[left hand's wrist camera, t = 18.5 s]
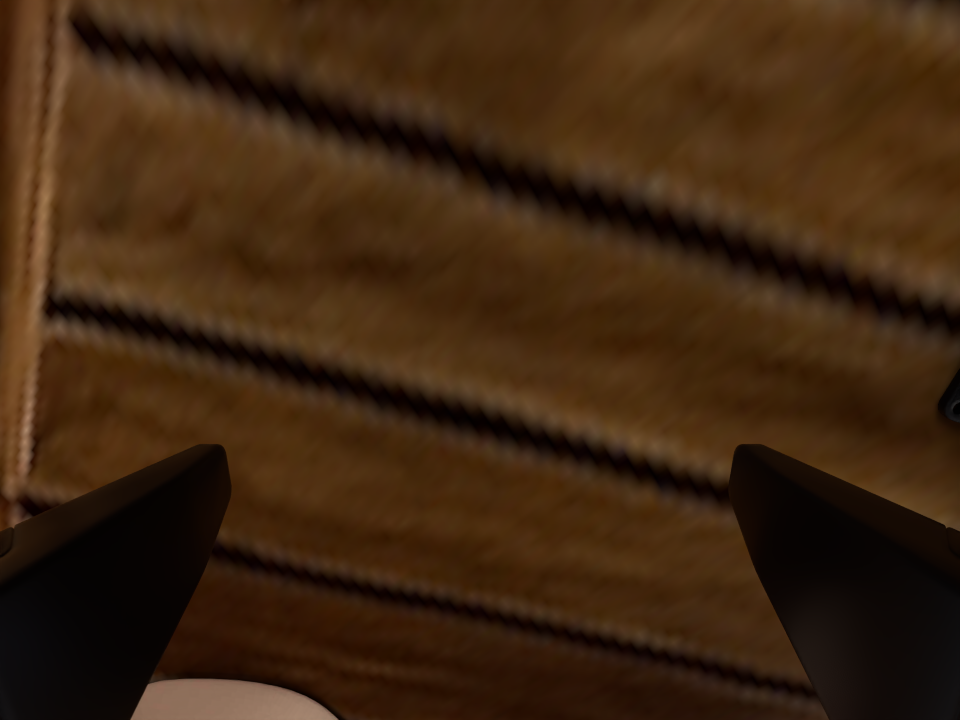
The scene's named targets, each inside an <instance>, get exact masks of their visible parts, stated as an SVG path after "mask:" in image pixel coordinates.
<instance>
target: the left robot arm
mask: <svg viewBox="0 0 960 720" xmlns="http://www.w3.org/2000/svg"><path fill="white" fill-rule="evenodd" d="M959 402H960V369H959V370H958V372H957V374H956V375H955V377H954V378H953V380H952V382H951V383H950V385H949V386H948V388H947V390H946V391H945V393H944V394H943V396H942V397H941V399H940V401H939V404H938V410H939V411H940V413H941V414H943V415H944V416H946V417H947V418H949V419H951V420H952V421H956V422H959V423H960V404H959V406H958V407H957V408H955V409H953V407H954V406H955V405H956V404H957V403H959ZM230 497H231V480H230V474H229V468H228V462H227V456H226V451H225V449H224V447H223V446H222V445H219V444H199V445H196V446H193V447H191V448H189V449H187V450H184V451H182V452H180V453H178V454H175V455H173V456H171V457H169V458H166V459H164V460H162V461H159V462H157V463H155V464H153V465H150V466H148V467H146V468H144V469H141V470H139V471H137V472H134V473H132V474H130V475H128V476H125V477H123V478H121V479H119V480H116V481H114V482H112V483H110V484H107V485H105V486H103V487H100V488H98V489H96V490H94V491H91V492H89V493H87V494H85V495H82V496H80V497H78V498H76V499H73V500H71V501H69V502H66V503H64V504H62V505H60V506H57V507H55V508H53V509H51V510H48V511H46V512H44V513H41V514H39V515H37V516H35V517H32V518H30V519H28V520H26V521H23V522H21V523H19V524H17V525H15V527H14V528H12V527H10V528H7V529H5V530H3V531H0V720H131V718H132V716H133V714H134V712H135V710H136V708H137V706H138V704H139V702H140V700H141V698H142V696H143V694H144V692H145V690H146V688H147V686H148V684H149V682H150V680H151V678H152V676H153V674H154V672H155V670H156V668H157V666H158V664H159V662H160V660H161V658H162V656H163V654H164V651H165V649H166V647H167V645H168V643H169V641H170V639H171V637H172V635H173V633H174V631H175V629H176V627H177V625H178V623H179V621H180V619H181V617H182V615H183V613H184V611H185V609H186V607H187V605H188V603H189V601H190V599H191V597H192V595H193V593H194V591H195V589H196V587H197V585H198V583H199V581H200V579H201V577H202V574H203V572H204V570H205V567H206V565H207V562H208V560H209V557H210V554H211V551H212V549H213V546H214V543H215V540H216V537H217V535H218V532H219V529H220V526H221V523H222V520H223V518H224V515H225V512H226V509H227V506H228V503H229V501H230ZM729 497H730V501H731V503H732V506H733V509H734V512H735V515H736V518H737V520H738V523H739V526H740V529H741V532H742V535H743V537H744V540H745V543H746V546H747V549H748V551H749V554H750V557H751V560H752V562H753V565H754V567H755V570H756V572H757V574H758V577H759V579H760V581H761V583H762V585H763V587H764V589H765V591H766V593H767V595H768V597H769V599H770V601H771V603H772V605H773V607H774V609H775V611H776V613H777V615H778V617H779V619H780V621H781V623H782V625H783V627H784V629H785V631H786V633H787V635H788V637H789V639H790V641H791V643H792V645H793V647H794V649H795V652H796V654H797V656H798V658H799V660H800V662H801V664H802V666H803V668H804V670H805V672H806V674H807V676H808V678H809V680H810V682H811V684H812V686H813V688H814V690H815V692H816V694H817V696H818V698H819V700H820V702H821V704H822V706H823V708H824V710H825V712H826V714H827V716H828V718H829V720H960V531H957V530H955V529H953V528H950V527H948V528H946V527H945V525H943V524H941V523H939V522H937V521H934V520H932V519H930V518H928V517H925V516H923V515H921V514H919V513H916V512H914V511H912V510H909V509H907V508H905V507H903V506H900V505H898V504H896V503H894V502H891V501H889V500H887V499H884V498H882V497H880V496H878V495H875V494H873V493H871V492H869V491H866V490H864V489H862V488H860V487H857V486H855V485H853V484H850V483H848V482H846V481H844V480H841V479H839V478H837V477H835V476H832V475H830V474H828V473H825V472H823V471H821V470H819V469H816V468H814V467H812V466H810V465H807V464H805V463H803V462H801V461H798V460H796V459H794V458H791V457H789V456H787V455H785V454H782V453H780V452H778V451H776V450H773V449H771V448H769V447H767V446H764V445H761V444H741V445H738V446H737V447H736V449H735V451H734V456H733V462H732V468H731V474H730V480H729Z"/></svg>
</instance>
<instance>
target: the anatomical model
mask: <svg viewBox="0 0 960 720" xmlns="http://www.w3.org/2000/svg"><path fill="white" fill-rule="evenodd" d="M131 720H338V719H337V718H336V717H335V716H334V715H333V714H332V713H330V712H329V711H328V710H327V709H326V708H325V707H323V706H322V705H320V704H319V703H317V702H316V701H314V700H312V699H310V698H308V697H307V696H304V695H302V694H299V693H297V692H294V691H292V690H288V689H285V688H281V687H278V686H273V685H267V684H262V683H257V682H248V681H240V680H225V679H177V680H163V681H159V682H154V683H151V684H148V686H147V688H146V690H145V692H144V694H143V696H142V698H141V700H140V702H139V704H138V706H137V708H136V710H135V712H134V714H133V716H132V718H131Z"/></svg>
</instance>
